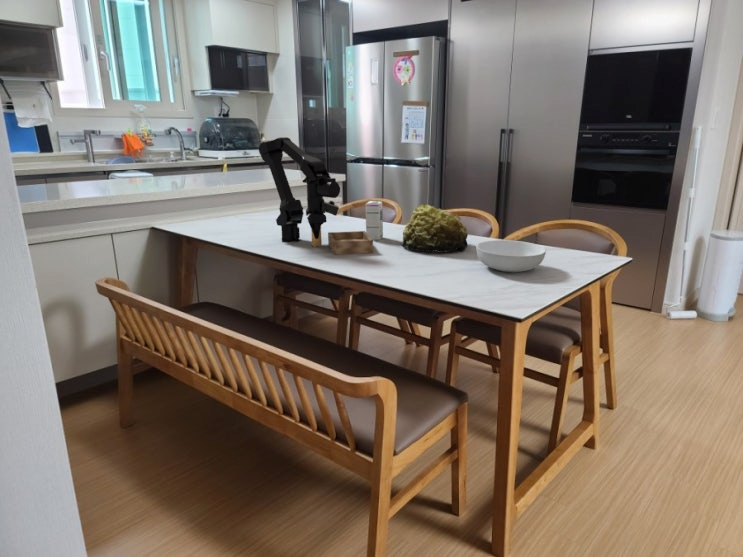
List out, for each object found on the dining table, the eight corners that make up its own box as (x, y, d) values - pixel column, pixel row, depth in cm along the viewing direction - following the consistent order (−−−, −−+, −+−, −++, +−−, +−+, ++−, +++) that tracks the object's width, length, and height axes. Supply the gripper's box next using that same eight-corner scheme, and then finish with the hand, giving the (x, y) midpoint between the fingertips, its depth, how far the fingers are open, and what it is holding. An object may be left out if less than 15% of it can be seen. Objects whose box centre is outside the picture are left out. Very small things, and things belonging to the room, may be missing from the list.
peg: (312, 246, 190) (311, 222, 187) (311, 244, 193) (310, 221, 191) (322, 246, 191) (321, 222, 188) (321, 244, 194) (320, 220, 191)
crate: (333, 254, 178) (333, 242, 177) (328, 244, 194) (328, 232, 193) (372, 252, 180) (372, 240, 179) (364, 242, 197) (364, 230, 195)
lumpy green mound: (390, 243, 196) (390, 202, 191) (445, 238, 204) (447, 198, 200) (420, 258, 174) (421, 212, 169) (481, 251, 182) (483, 207, 178)
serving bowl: (502, 281, 147) (504, 258, 145) (462, 264, 165) (463, 243, 163) (559, 273, 155) (561, 251, 153) (514, 257, 173) (516, 237, 171)
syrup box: (380, 240, 200) (380, 203, 196) (365, 239, 201) (365, 202, 197) (383, 237, 206) (383, 201, 201) (368, 236, 207) (368, 200, 203)
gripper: (340, 198, 179) (341, 242, 184) (334, 191, 197) (335, 231, 201) (308, 199, 177) (309, 243, 182) (305, 192, 195) (306, 233, 199)
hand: (316, 237), depth 191 cm, fingers closed on peg, 4 cm apart
